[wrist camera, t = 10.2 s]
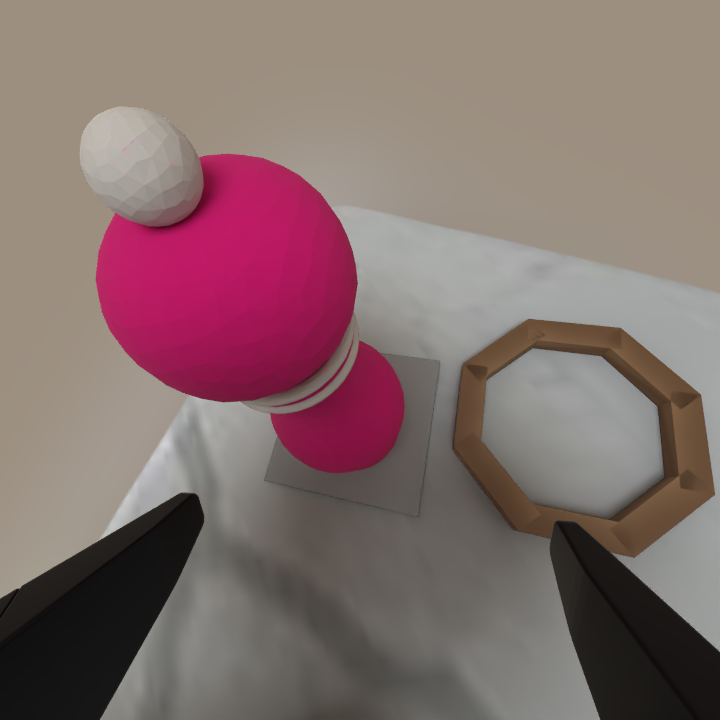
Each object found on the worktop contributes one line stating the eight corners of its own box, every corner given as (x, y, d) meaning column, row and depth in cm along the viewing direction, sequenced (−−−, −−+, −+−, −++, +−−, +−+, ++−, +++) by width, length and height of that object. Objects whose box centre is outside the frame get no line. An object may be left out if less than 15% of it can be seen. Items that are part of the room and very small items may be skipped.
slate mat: (417, 516, 21) (417, 516, 20) (266, 480, 23) (264, 480, 23) (439, 363, 24) (440, 360, 24) (306, 345, 27) (305, 343, 26)
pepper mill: (305, 373, 25) (3, 30, 7) (406, 369, 24) (351, -56, 6) (296, 478, 22) (-242, 355, 4) (410, 479, 21) (330, 316, 3)
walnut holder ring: (708, 574, 18) (727, 579, 16) (444, 513, 21) (445, 513, 20) (679, 343, 22) (692, 334, 21) (467, 321, 25) (469, 313, 24)
